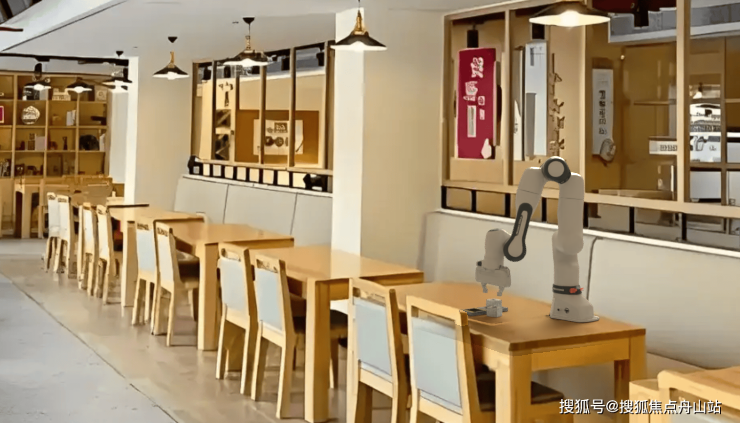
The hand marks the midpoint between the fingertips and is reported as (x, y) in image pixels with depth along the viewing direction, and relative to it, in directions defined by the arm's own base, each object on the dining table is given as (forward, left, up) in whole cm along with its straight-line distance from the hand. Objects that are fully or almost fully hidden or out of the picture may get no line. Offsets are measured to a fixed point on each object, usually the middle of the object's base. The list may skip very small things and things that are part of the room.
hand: (492, 294), depth 394 cm
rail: (-1, +5, -8) cm, 10 cm away
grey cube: (-1, -1, -7) cm, 7 cm away
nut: (-10, +7, -9) cm, 15 cm away
